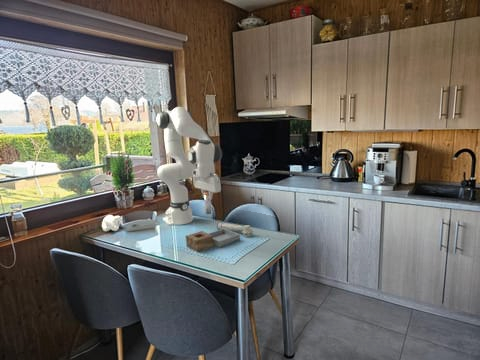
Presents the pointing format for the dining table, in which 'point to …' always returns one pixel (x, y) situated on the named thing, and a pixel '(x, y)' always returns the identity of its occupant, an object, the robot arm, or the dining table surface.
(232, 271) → the dining table surface
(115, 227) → the white knot
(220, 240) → the tray
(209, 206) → the pin
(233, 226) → the electric toothbrush
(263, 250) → the dining table surface
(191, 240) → the hitch block
